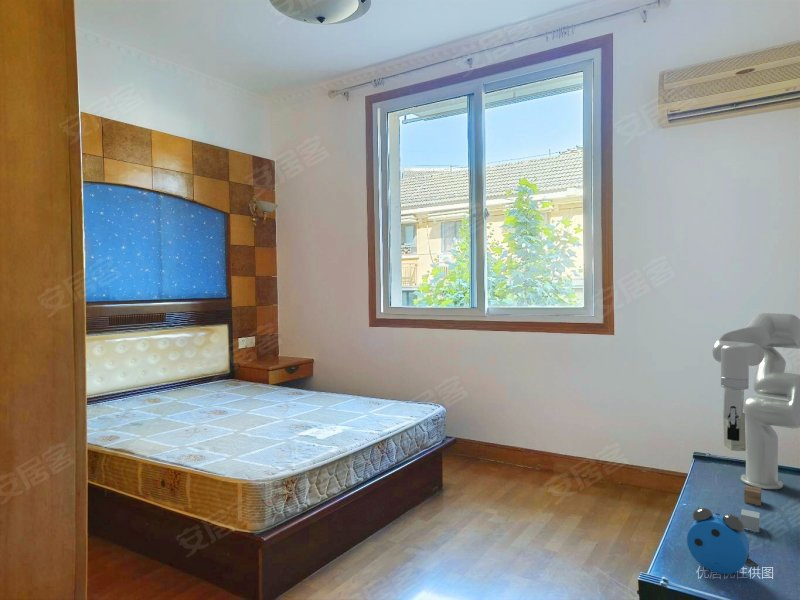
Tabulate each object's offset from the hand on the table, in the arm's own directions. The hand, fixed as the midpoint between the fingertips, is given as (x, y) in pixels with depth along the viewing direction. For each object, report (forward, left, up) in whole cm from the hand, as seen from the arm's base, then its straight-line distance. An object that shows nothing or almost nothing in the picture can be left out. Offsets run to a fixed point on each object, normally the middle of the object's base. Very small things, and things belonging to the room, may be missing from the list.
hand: (734, 436), depth 165 cm
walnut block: (-9, +5, -24) cm, 26 cm away
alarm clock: (+44, -1, -24) cm, 50 cm away
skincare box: (0, 0, -4) cm, 4 cm away
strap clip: (+34, +4, -24) cm, 42 cm away
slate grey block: (+13, +5, -24) cm, 28 cm away
